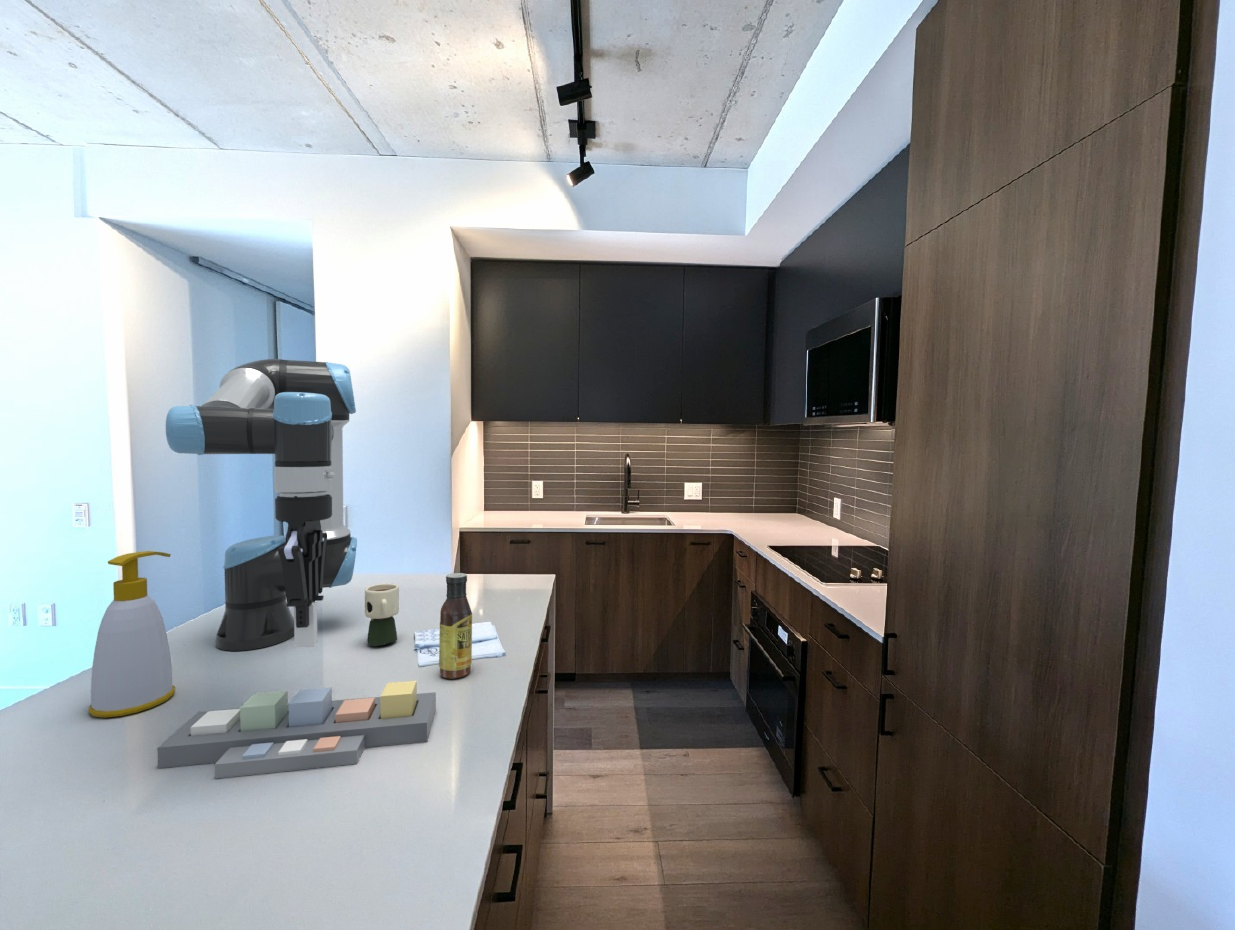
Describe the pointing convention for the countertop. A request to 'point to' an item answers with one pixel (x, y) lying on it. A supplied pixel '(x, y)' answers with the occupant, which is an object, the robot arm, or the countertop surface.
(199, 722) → the key white
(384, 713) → the key mustard
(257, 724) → the key sage
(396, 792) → the countertop surface
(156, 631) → the soap bottle
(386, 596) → the character mug
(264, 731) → the keypad
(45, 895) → the countertop surface
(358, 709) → the key terracotta
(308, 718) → the key slate
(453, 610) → the sauce bottle
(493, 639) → the folded patterned cloth
